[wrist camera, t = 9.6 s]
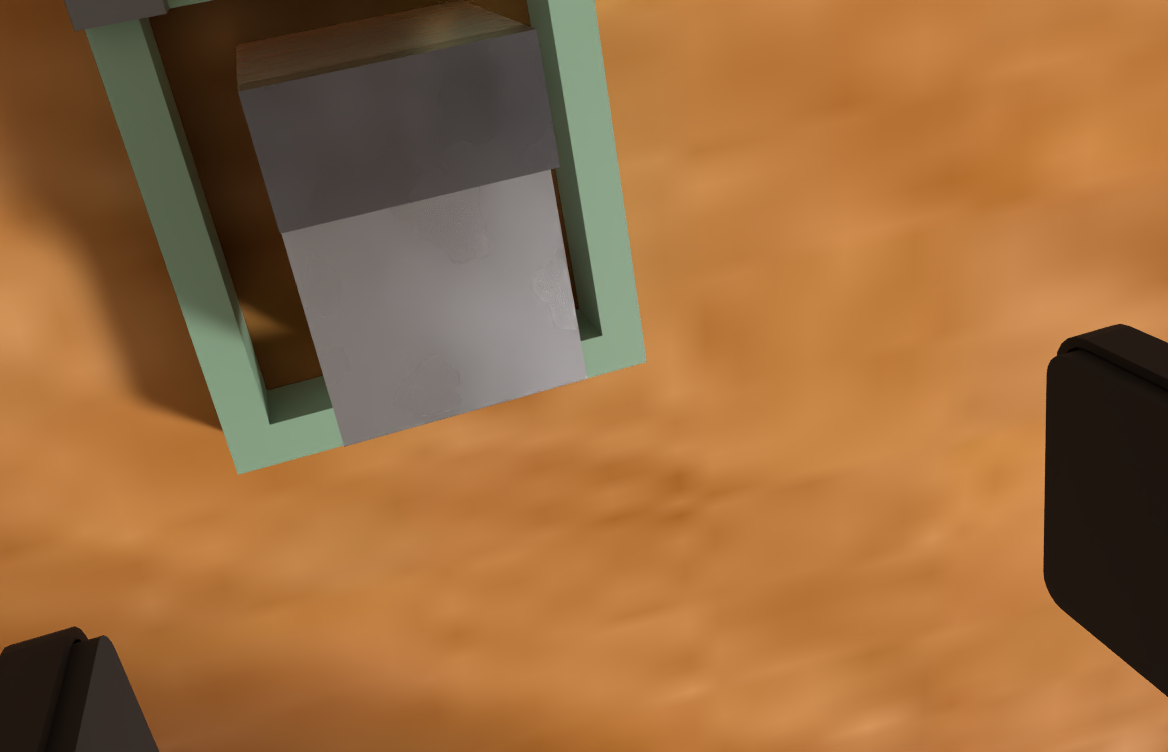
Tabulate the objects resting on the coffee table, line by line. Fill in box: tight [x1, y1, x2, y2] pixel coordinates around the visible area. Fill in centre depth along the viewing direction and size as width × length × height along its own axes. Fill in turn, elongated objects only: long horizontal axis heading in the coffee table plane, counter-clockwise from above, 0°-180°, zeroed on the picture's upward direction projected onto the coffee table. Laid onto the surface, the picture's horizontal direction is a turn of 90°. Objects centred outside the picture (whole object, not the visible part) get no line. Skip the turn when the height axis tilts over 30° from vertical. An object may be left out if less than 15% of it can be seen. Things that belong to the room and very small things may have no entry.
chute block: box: [236, 0, 587, 447], centre depth 22 cm, size 7×5×7 cm
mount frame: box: [64, 0, 647, 475], centre depth 24 cm, size 11×10×3 cm
